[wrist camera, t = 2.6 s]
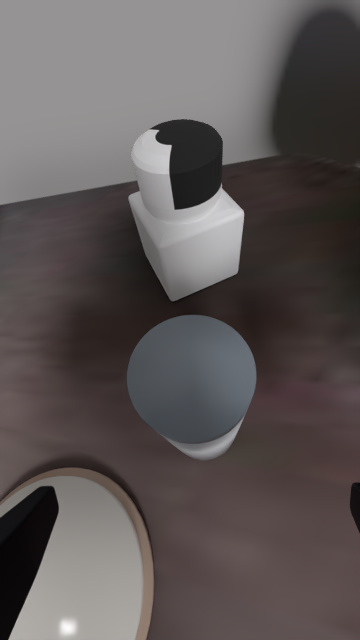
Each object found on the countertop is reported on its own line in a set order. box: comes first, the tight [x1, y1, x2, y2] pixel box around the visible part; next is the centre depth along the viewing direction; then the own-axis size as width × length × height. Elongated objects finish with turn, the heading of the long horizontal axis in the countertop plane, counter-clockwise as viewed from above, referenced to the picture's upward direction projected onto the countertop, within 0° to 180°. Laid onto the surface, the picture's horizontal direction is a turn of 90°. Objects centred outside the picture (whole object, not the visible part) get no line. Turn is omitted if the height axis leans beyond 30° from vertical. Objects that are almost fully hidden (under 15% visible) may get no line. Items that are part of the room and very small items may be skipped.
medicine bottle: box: [129, 119, 244, 301], centre depth 22 cm, size 7×7×12 cm
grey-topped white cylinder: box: [127, 315, 256, 460], centre depth 15 cm, size 5×5×11 cm
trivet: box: [0, 468, 155, 640], centre depth 15 cm, size 12×12×1 cm
